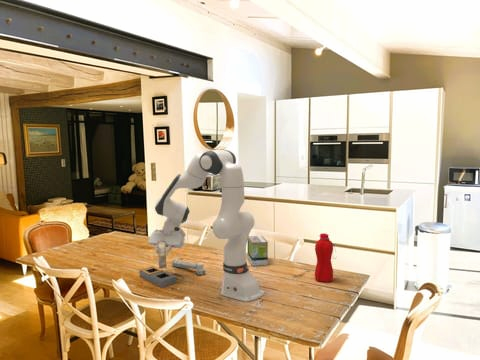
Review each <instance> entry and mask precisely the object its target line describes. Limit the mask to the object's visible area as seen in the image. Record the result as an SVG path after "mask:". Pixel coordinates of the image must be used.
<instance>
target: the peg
mask: <svg viewBox="0 0 480 360" xmlns="http://www.w3.org/2000/svg"><path fill="white" fill-rule="evenodd" d="M165 250H167V247H165V241H158V253H157V256H158V258H157V259H158V268H159V269H161V270H164V269H166V268H167V254H165V253H164V251H165Z"/></svg>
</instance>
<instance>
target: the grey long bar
mask: <svg viewBox="0 0 480 360" xmlns="http://www.w3.org/2000/svg"><path fill="white" fill-rule="evenodd" d="M172 267H175V268H183V269H194V271H195V273H196V275H197V276H199V275H201V276H202V275H206V267H205V266H204V264H203V263H202V262H199V263H195V262H191V261H184V260H180V259H175V260H172Z"/></svg>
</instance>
